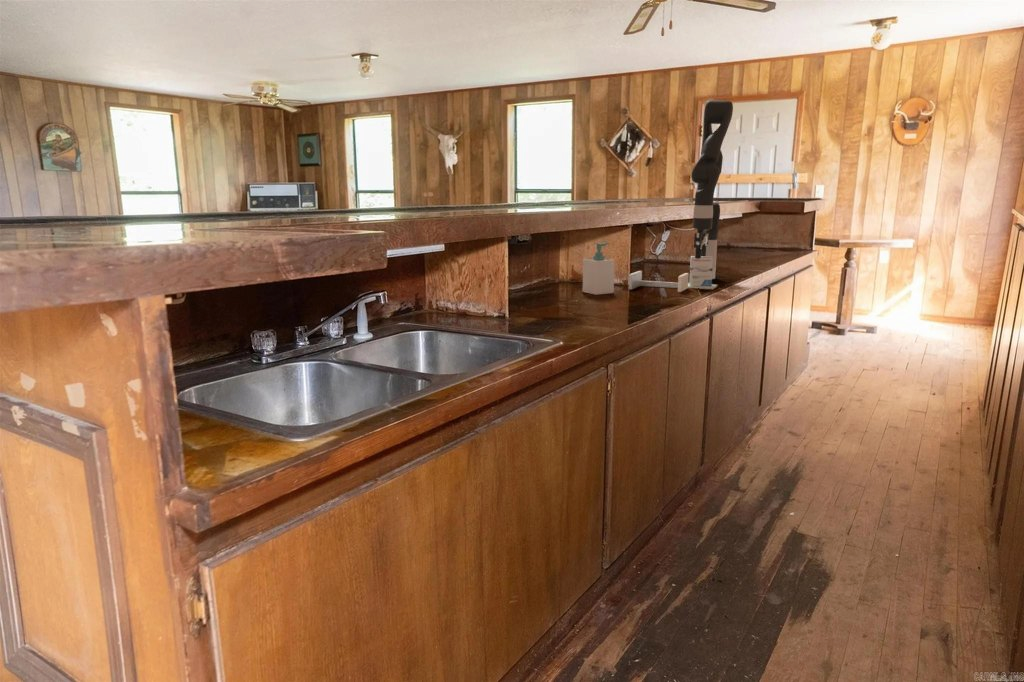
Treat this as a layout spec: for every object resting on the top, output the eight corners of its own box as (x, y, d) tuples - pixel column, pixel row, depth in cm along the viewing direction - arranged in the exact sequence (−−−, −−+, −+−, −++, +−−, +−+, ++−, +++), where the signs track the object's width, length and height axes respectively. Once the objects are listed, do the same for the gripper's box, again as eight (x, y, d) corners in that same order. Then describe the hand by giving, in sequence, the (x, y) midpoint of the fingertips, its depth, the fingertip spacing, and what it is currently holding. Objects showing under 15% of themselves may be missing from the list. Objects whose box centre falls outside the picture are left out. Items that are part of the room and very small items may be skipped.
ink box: (710, 284, 281) (712, 255, 278) (711, 286, 276) (713, 257, 274) (688, 284, 282) (690, 255, 280) (689, 285, 277) (691, 256, 275)
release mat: (687, 284, 286) (688, 283, 286) (717, 286, 281) (717, 284, 280) (682, 287, 277) (682, 286, 277) (712, 289, 272) (712, 287, 272)
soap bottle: (614, 293, 264) (615, 243, 259) (596, 294, 259) (597, 244, 255) (600, 290, 271) (601, 241, 267) (582, 292, 266) (583, 242, 262)
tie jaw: (684, 287, 274) (685, 272, 273) (687, 288, 274) (688, 273, 272) (677, 291, 264) (678, 276, 263) (680, 292, 263) (681, 276, 262)
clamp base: (638, 285, 284) (638, 270, 283) (684, 287, 276) (684, 273, 275) (628, 289, 273) (628, 274, 271) (675, 292, 264) (676, 277, 263)
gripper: (708, 218, 265) (705, 259, 269) (716, 215, 277) (713, 255, 281) (689, 217, 268) (686, 258, 272) (697, 215, 281) (695, 254, 285)
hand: (700, 257), depth 277 cm, fingers open, 8 cm apart
